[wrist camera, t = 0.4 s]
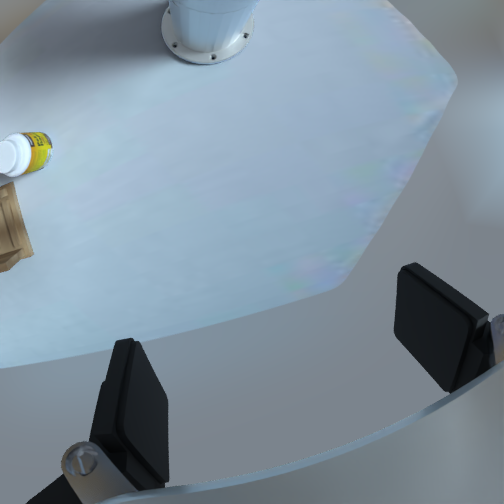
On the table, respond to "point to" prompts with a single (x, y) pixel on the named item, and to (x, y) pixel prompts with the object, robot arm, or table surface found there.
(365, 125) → the table surface
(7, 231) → the holder
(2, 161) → the supplement bottle
